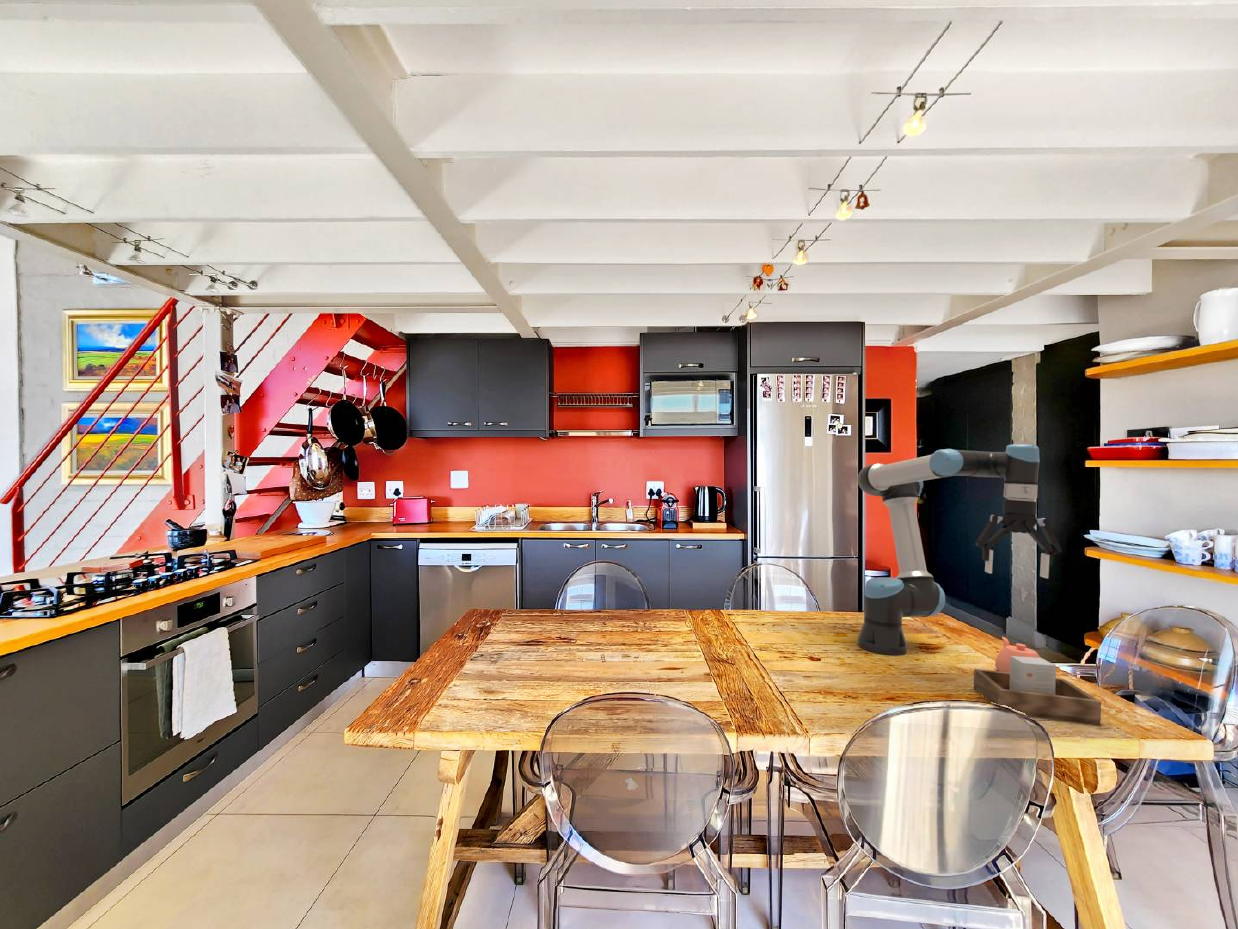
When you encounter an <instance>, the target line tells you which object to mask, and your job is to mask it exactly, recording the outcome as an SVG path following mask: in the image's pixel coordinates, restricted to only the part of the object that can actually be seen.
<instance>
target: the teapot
mask: <svg viewBox="0 0 1238 929" xmlns="http://www.w3.org/2000/svg"><path fill="white" fill-rule="evenodd" d="M1001 638H1002V641H1003V648H1002V649H1001V650H1000V651H999V653H998V654H997V656H996V658H995V663H994V666H995V667H994V668H996V670H997V671H999V672H1008V673H1010V656H1019V657H1033V658H1041V656H1040V655H1039V653H1038V652H1037V651H1035V650H1034V649H1032V648H1028V647H1027V645H1026V644H1023V643H1015V645H1011V644H1010V641H1009V640H1008V638H1006V637H1005V636H1002V637H1001Z"/></svg>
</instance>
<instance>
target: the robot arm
mask: <svg viewBox="0 0 1238 929" xmlns="http://www.w3.org/2000/svg"><path fill="white" fill-rule="evenodd" d="M1040 462H1041V460H1040V448H1039V446H1037V445H1034V444H1008V445H1006V448H1005V451H983V450H982V451H980V450H979V451H977V450H963V449H962V450H961V449H952V448H945V449H938V450H936V451H934V453H932V454H928V455H925V456H920V457H915V458H911V459H907V460H906V459H905V460H901V461H897V462H891V463H888V464H887V463H886V464H883V463H874V464H869V465H866V466H864V467H863V468H862V469H861V470H860V471H859V473H858V475H857V484H858V486H859V488H860V489H861V491H863V492H864V493H865V494H867V495H870V496H874V497H881V499H882V504H883V505H884V506H886V507H887V508H888V512H889V513H888V514H889V519H890V524H891V531H892V536H893V543H894V548H895V553H896V560H897V566H898V572H899V573H898V575H897V576H896V577H892V576H891V577H884V576H883V577H881V576H880V577H879V576H878V577H873V578H869V579H867V581H866V582H865V585H864V586H865V587H864V592H863V593H864V608H863V609H864V610H863V613H864V614H863V623H862V626H861V629H860V632H859V634H858V635H857V646H858V647H860V648H861V649H863V650H865V651H868V652H872V653H876V654H881V655H889V656H890V655H891V656H901V655H905V654H907V653H908V644H907V640H906V637H905V634H904V630H903V625H902V624H903V618H928V617H935V616H937V615H938V614H940V613H942V612H941V611H942V610H944V606H945V605H946V595H945V592H944V589H943V588H942V587H941V585H940V584H939V583H937V582H935V580H934V576H933V575H932V573H930V572H928V570H927V566H926V565H927V564H926V559H925V554H924V548H923V543H922V538H921V532H920V527H919V526H920V525H919V522H918V516H917V510H916V505H915V504H916V503H917V502H918V501H919V496H920V495H921V493H922V491H923V490H922V489H924V481H929V480H935V479H941V478H942V479H943V478H948V477H953V476H957V477H958V476H959V477H963V476H966V477H977V478H1004V485H1003V486H1004V488H1003V497H1004V498H1005V499H1004V500H1003V505H1002V515H1001V516H999V515H996V514H989V518H988V523H986V525H985V527H984V528H983V530H982V531H981V533H980V534H979V536H978V538H977V539H976V541H975V543H974V545H975V546H976V547H979V548H981V550H982V551H981V552H982V553H981V554H982V555H981V558H982V560H983V561H984V565H985V566H984V572H985V573H988V574H993V563H994V562H993V560H994V550H993V549H992V548H993V547H994V546H995V545H996V544H997V543H998V542H999V541H1000V540H1001V539H1003V538H1004V537H1005V536H1007V535H1008V534H1009V533H1015V534H1016V533H1020V534H1028V535H1029V536H1030V537H1031V538H1032V539H1033V541H1034V542H1035V543H1036V544H1037V545H1038V546H1039V547H1040V548H1041V550H1042V551H1043V552H1044V553H1043V552H1041V554H1040V570H1039V572H1040V573H1039V577H1041V578H1044V579H1049V575H1050V574H1049V573H1050V567H1053V564H1054V563H1053V562H1054V561H1053V560H1054V556H1055V555H1056V554H1061V553H1062V551H1063V550H1062V547H1061V546H1060V543H1059V542H1058V540H1057V537H1056V536H1055V534H1054V532H1053V530H1052V527H1051V524H1050V523H1051V521H1050V519H1049V518H1045V517H1040V518H1037V508H1038V507H1037V504H1038V503H1037V501H1035V500H1037V499H1038V485H1039V484H1038V483H1039V482H1038V479H1039V469H1040ZM1000 522H1001V523H1002V524H1003V525H1002V526H1000V527H999V529H998V530H997V531H996V532H995V533H994V534H993V535H992V536H991V534H992V533H993V531H994V530H995V528H996V527H997V524H999V523H1000ZM1036 525H1038V526H1039V527H1040V528H1041V531H1042V533H1043V535H1044V537H1045V538H1046V541H1047V542H1048V543H1047V542H1046V541H1045V540H1044V538H1043V537H1042V536H1041V535H1040V534H1039V532H1038V531H1037V529H1036V528H1035V526H1036Z"/></svg>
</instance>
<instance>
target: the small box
mask: <svg viewBox="0 0 1238 929" xmlns="http://www.w3.org/2000/svg"><path fill="white" fill-rule="evenodd" d="M1056 671H1057V665H1055V663H1054V664H1053V663H1052V662H1050V661H1048V660H1046V659H1045V658H1043V657H1040V658H1033V657H1019V656H1010V689H1009V690H1016V691H1024V692H1033V693H1041V694H1050V695H1055V684H1056V678H1057V677H1056V676H1057V675H1056V674H1057V672H1056Z"/></svg>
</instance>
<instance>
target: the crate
mask: <svg viewBox="0 0 1238 929" xmlns="http://www.w3.org/2000/svg"><path fill="white" fill-rule="evenodd" d="M1009 689H1010V673H1008V672H999V671H998V670H997V671H996V670H988V669H978V668H973V690H974V691H975V692H977V693H978V694H979V693H980V694H982V695H983V696H984V698H986V699H985V700H986V701H987V702H988V701H989V702H993V703H996V704H999V705H1006V706H1008V707H1011V708H1012V709H1015V710H1017V711H1020V712H1023V713H1025V714H1026V715H1028V716H1027V717H1033V718H1034V717H1035V718H1041V719H1042V718H1043V719H1050V720H1057V721H1067V722H1073V723H1082V724H1089V725H1097V726H1101V723H1102V722H1101V720H1102V701H1100V700H1098V699H1097V698H1095V697H1094V696H1092V695H1091V694H1089V693H1087V692H1086V691H1084V690H1082V689H1081V688H1079V687H1078V686H1076V685H1074V684H1073V683H1072V682H1070V681H1068V680H1067V679H1065V678H1062V677H1061V678H1060V677H1056V684H1055V695H1050V694H1041V693H1033V692H1024V691H1016V690H1009ZM980 694H979V695H980ZM989 702H988V703H989Z"/></svg>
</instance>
